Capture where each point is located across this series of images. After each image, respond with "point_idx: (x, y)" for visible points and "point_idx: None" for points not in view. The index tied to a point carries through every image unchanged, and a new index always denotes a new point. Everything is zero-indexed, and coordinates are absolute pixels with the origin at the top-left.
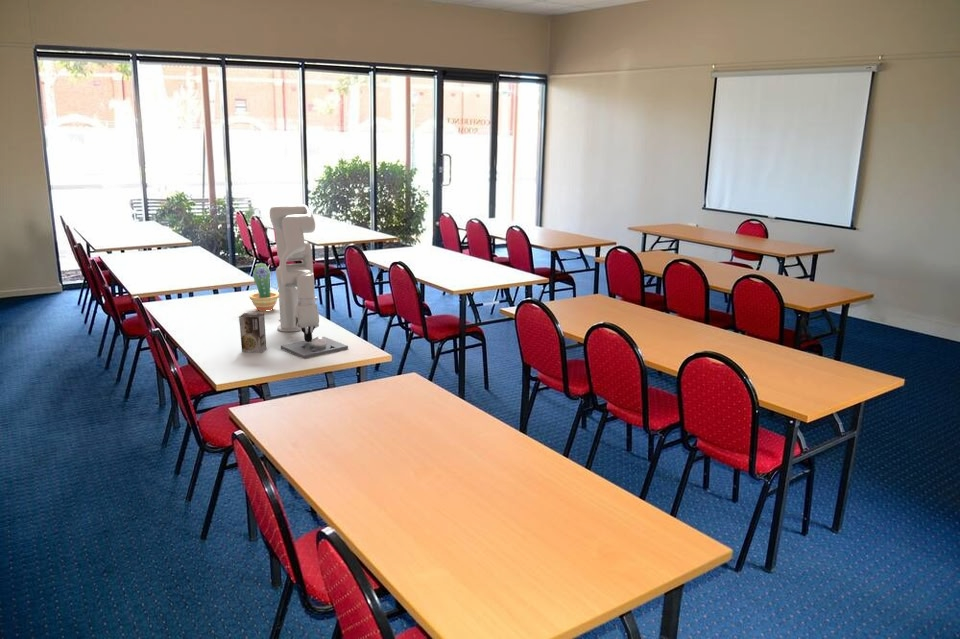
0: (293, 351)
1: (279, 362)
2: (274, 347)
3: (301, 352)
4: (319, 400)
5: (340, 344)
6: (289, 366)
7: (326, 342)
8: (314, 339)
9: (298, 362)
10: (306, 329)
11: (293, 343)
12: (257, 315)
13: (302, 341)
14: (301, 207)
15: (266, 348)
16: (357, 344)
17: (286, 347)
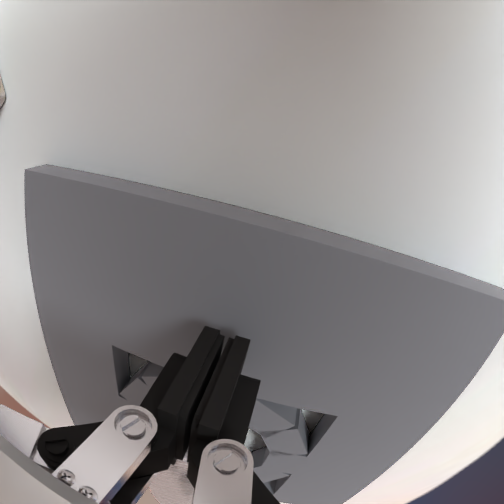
0: (50, 352)
1: (3, 345)
2: (41, 95)
3: (77, 403)
4: None
5: (343, 490)
6: (26, 395)
7: (346, 437)
8: (150, 488)
9: (56, 407)
10: (116, 496)
11: (114, 217)
12: None
13: (233, 245)
14: None
15: (3, 99)
16: (432, 477)
17: (33, 261)
